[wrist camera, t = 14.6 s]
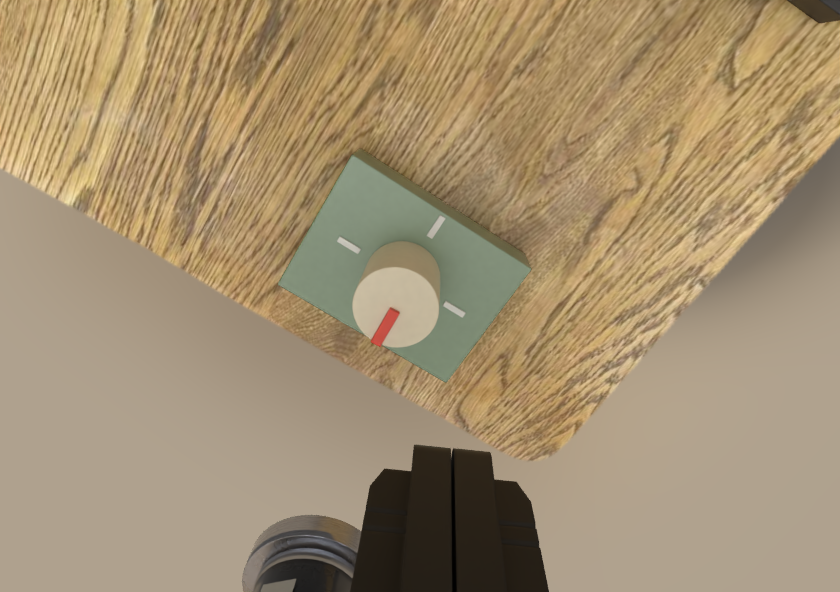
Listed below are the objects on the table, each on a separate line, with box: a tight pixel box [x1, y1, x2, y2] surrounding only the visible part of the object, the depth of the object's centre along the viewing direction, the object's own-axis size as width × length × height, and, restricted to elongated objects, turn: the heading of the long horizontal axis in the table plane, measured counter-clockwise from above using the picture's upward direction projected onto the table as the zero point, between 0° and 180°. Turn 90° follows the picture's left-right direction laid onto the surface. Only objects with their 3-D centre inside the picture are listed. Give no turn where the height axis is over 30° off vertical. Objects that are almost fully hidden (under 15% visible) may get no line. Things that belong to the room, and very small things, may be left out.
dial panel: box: [278, 149, 531, 382], centre depth 34 cm, size 12×9×3 cm
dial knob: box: [352, 241, 440, 348], centre depth 30 cm, size 4×4×5 cm
